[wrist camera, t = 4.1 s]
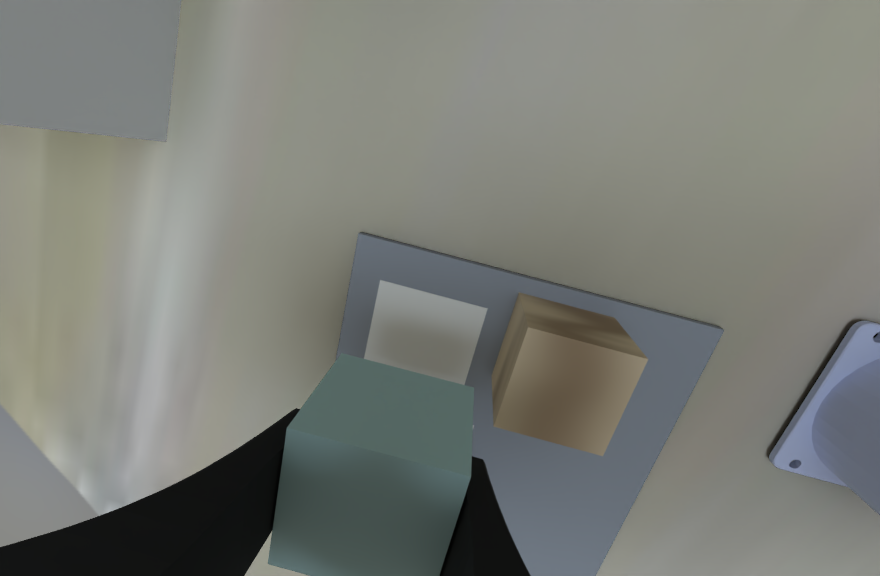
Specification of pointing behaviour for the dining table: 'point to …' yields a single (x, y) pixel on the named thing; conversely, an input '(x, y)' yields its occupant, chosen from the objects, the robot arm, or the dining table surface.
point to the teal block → (373, 473)
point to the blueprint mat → (472, 363)
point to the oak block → (564, 374)
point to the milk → (88, 65)
